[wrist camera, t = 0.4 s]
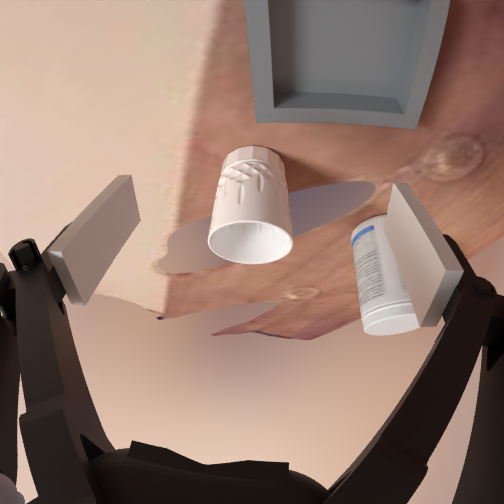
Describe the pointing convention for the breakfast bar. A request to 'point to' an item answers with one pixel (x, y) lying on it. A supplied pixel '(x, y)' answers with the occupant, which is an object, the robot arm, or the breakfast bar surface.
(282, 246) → the white cup
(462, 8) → the breakfast bar surface
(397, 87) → the slate coaster tray
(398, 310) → the supplement tub
